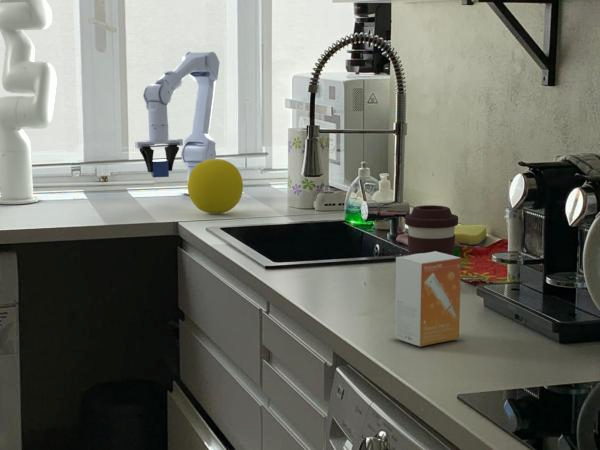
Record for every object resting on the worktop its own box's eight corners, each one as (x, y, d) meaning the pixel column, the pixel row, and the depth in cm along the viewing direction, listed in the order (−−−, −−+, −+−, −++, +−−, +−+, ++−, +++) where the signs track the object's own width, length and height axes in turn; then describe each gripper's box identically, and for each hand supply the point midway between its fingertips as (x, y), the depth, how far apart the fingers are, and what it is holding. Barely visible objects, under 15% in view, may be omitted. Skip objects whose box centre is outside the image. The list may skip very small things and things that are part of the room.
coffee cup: (400, 280, 202) (400, 204, 200) (450, 279, 203) (451, 203, 201) (409, 292, 193) (410, 212, 190) (462, 291, 193) (463, 211, 191)
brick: (168, 176, 307) (168, 160, 306) (153, 177, 306) (152, 161, 305) (166, 175, 312) (166, 159, 311) (151, 175, 311) (150, 159, 310)
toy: (233, 207, 298) (232, 155, 296) (250, 215, 284) (249, 160, 281) (182, 210, 293) (181, 157, 290) (196, 219, 279) (195, 163, 276)
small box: (420, 347, 157) (421, 263, 155) (394, 338, 162) (394, 256, 160) (460, 339, 162) (462, 256, 159) (433, 330, 167) (434, 250, 165)
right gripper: (175, 123, 314) (176, 168, 316) (130, 125, 306) (131, 171, 308) (185, 124, 308) (186, 170, 310) (140, 127, 300) (141, 174, 302)
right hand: (160, 171), depth 309 cm, fingers closed on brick, 5 cm apart
